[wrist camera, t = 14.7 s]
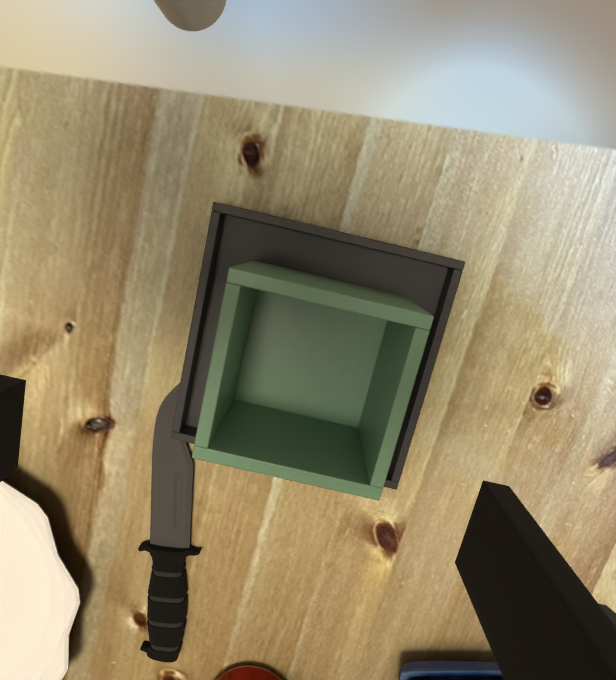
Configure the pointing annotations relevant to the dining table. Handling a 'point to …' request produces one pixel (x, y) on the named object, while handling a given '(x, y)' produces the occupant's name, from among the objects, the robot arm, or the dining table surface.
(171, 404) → the knife
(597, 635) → the robot arm
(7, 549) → the plate
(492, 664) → the flower pot
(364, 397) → the green tub
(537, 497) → the dining table surface
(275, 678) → the soda can
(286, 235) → the tray
